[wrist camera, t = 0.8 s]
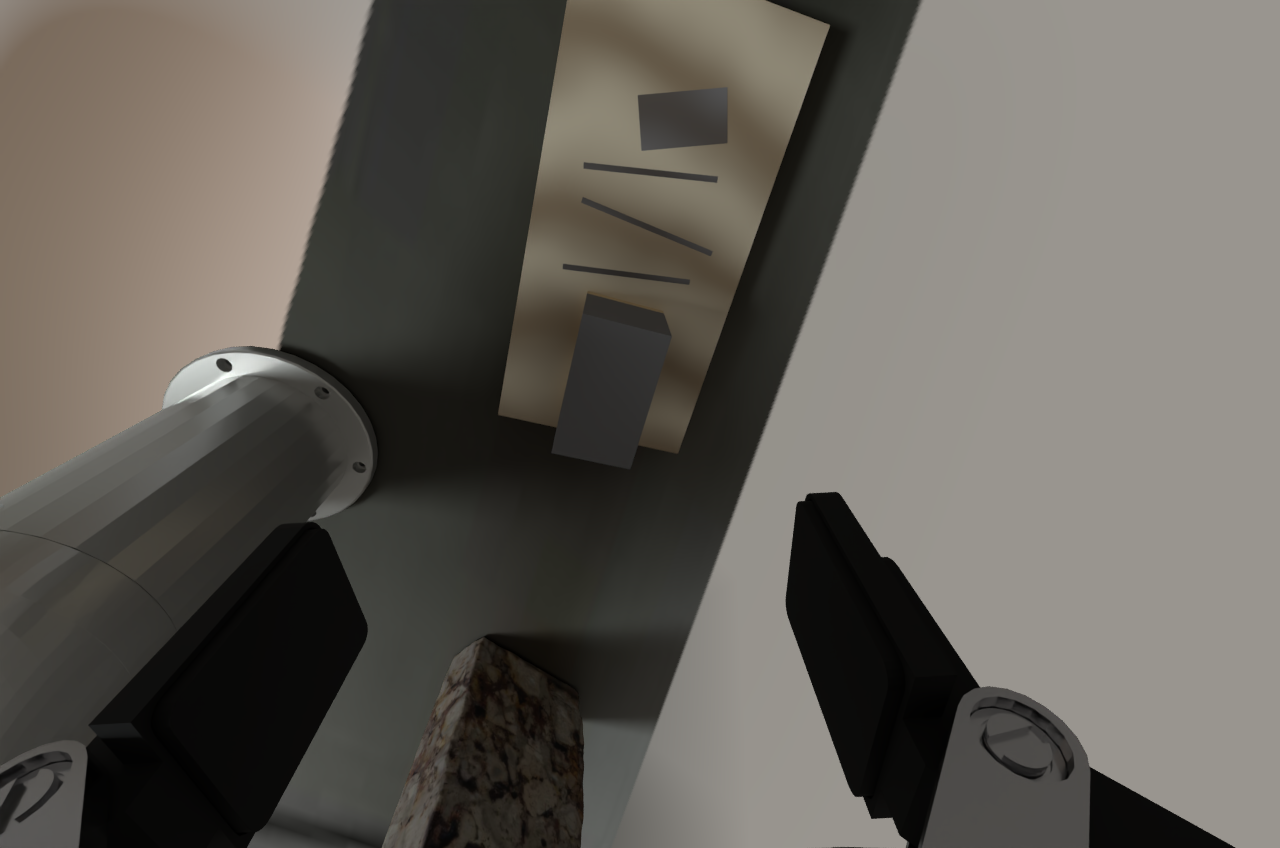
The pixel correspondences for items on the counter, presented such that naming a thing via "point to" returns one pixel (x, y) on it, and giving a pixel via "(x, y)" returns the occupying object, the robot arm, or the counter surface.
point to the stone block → (495, 760)
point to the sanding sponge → (611, 380)
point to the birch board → (654, 183)
